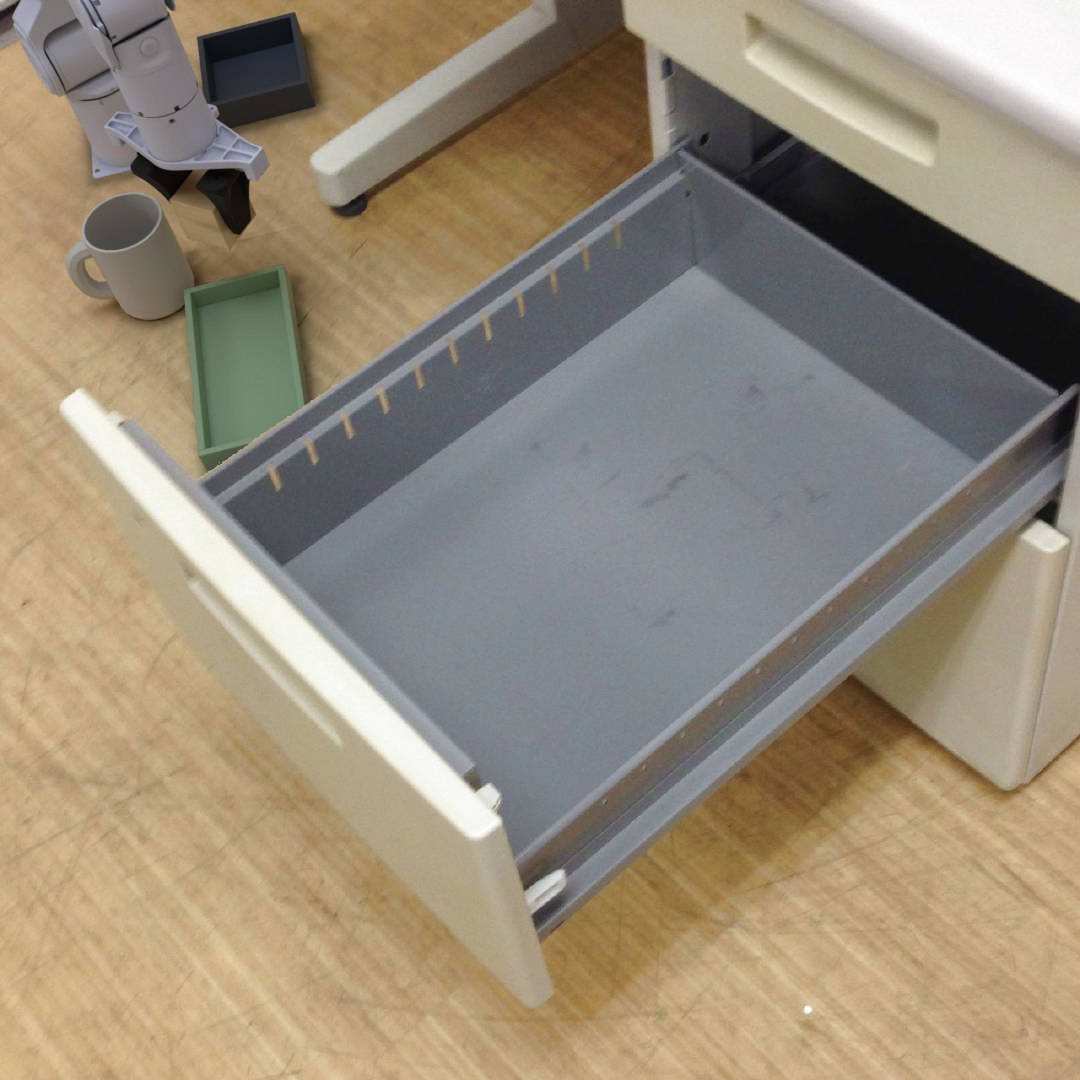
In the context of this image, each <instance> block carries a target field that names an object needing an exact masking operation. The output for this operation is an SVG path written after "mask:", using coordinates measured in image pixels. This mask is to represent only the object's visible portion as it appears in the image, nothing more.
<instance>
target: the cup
mask: <svg viewBox="0 0 1080 1080" xmlns="http://www.w3.org/2000/svg"><path fill="white" fill-rule="evenodd" d="M80 232H81V233H80V235H81V238H82V240H79V241H78V242H76V243H75V244H73V245H72V247H71V248H70V250H69V251H68V253H67V255H66V258H65V268H66V272H67V274H68V277H69V278H70V280H71V281H72V283H73V284H74V285H75V286H76V287H77V288H78V290H79V291H80V292H81V293H83V294H84V295H86V296H88V297H89V298H91V299H94V300H98V301H103V300H111V299H115V300H116V301H117V303H118V304H119V306H120V307H121V309H122V310H123V311H124V313H126V314H127V315H129V316H131V317H133V318H135V319H139V320H144V321H153V320H159V319H164V318H165V317H168V316H171V315H173V314H175V313H176V312H177V311H179V310H181V309H182V308H183V307H184V306H185V301H184V289H188V288H192V287H195V275H194V273H193V271H192V268H191V265H190V264H189V261H188V259H187V257H186V255H185V253H184V251H183V249H182V246H181V245H180V243H179V240H178V239H177V236H176V234H175V233H174V231H173V228H172V226H171V224H170V222H169V220H168V218H167V216H166V214H165V212H164V210H163V208H162V206H161V204H160V202H159V201H158V200H157V199H156V198H155V197H154V196H152V195H149V194H148V193H144V192H139V191H127V192H122V193H117V194H115V195H112V196H110V197H107V198H106V199H104V200H103V201H100V202H98V203H97V204H96V205H95V206H94V207H93V208H92V209H91V210H90V211H89V212H88V213H87V215H86V216H85V218H84V219H83V222H82V225H81V230H80ZM89 259H93V261H95V264H96V266H97V268H98V269H99V271H100V273H101V276H103V278H104V280H105V281H104V280H103V281H102V280H101V281H99V280H97V279H95V278H93V277H92V276H91V275H90V274H89V271H88V270H87V267H86V264H85V262H86V261H87V260H89Z"/></svg>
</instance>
